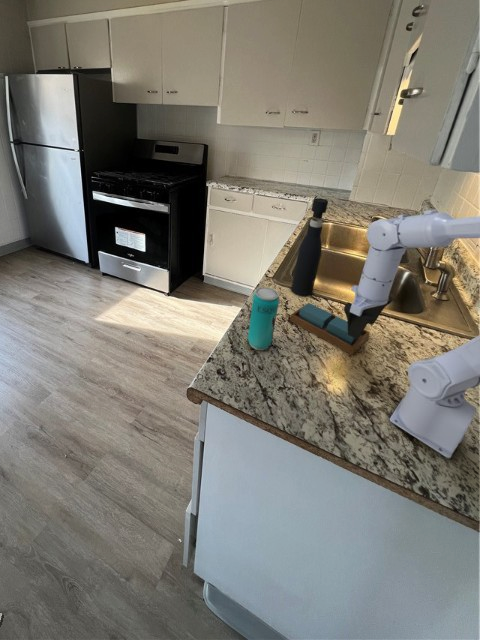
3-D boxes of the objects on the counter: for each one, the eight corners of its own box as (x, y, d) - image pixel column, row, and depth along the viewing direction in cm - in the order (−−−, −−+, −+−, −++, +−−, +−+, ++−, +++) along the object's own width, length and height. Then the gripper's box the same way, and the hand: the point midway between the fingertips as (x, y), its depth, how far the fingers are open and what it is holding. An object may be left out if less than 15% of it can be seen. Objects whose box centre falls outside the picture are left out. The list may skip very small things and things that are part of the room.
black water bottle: (289, 285, 104) (306, 196, 91) (309, 287, 103) (329, 197, 90) (292, 295, 98) (311, 202, 85) (313, 297, 98) (335, 203, 85)
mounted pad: (330, 323, 85) (332, 314, 84) (321, 330, 82) (324, 320, 81) (306, 311, 90) (308, 302, 88) (298, 317, 87) (300, 308, 86)
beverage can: (271, 354, 74) (280, 301, 68) (246, 350, 75) (253, 297, 69) (270, 338, 79) (279, 287, 73) (247, 335, 80) (254, 284, 74)
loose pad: (358, 338, 80) (361, 328, 78) (350, 345, 77) (353, 336, 76) (334, 325, 84) (336, 316, 83) (325, 332, 81) (328, 323, 80)
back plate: (367, 338, 80) (370, 332, 80) (351, 355, 75) (354, 348, 74) (307, 308, 92) (308, 302, 91) (289, 320, 86) (290, 314, 86)
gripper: (372, 259, 71) (356, 309, 77) (342, 278, 62) (327, 333, 68) (406, 270, 66) (388, 323, 72) (379, 293, 57) (360, 351, 63)
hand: (360, 329), depth 69 cm, fingers open, 7 cm apart
